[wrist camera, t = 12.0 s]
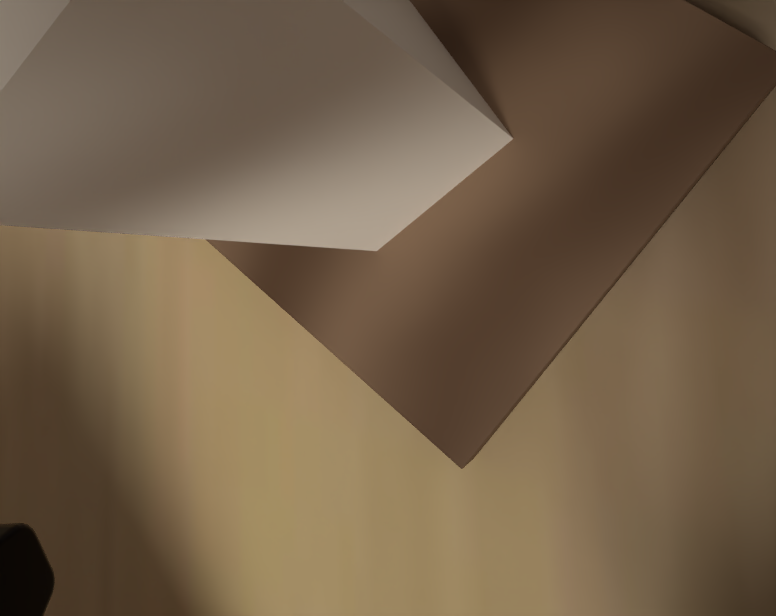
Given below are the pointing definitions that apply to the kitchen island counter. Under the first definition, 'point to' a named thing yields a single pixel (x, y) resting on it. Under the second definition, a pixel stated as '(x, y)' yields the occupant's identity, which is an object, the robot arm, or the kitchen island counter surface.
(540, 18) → the board
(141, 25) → the carton
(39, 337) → the kitchen island counter surface
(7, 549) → the robot arm
